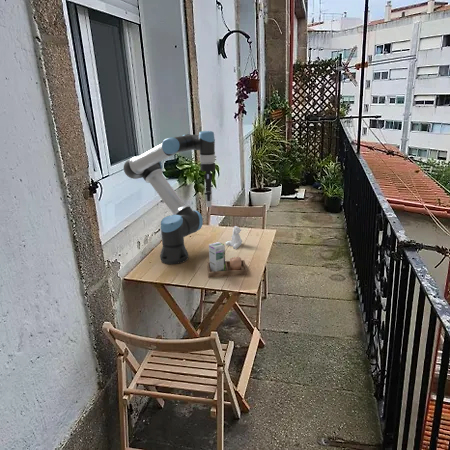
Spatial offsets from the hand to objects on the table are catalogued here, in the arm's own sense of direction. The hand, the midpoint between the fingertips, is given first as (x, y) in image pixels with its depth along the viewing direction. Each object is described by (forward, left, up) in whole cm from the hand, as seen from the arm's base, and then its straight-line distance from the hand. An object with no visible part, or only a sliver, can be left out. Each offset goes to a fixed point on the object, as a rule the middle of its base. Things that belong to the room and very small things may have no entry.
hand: (209, 203), depth 198 cm
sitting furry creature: (+15, +14, -31) cm, 37 cm away
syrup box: (+2, -21, -30) cm, 36 cm away
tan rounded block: (+11, -21, -30) cm, 38 cm away
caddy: (+7, -21, -31) cm, 38 cm away
